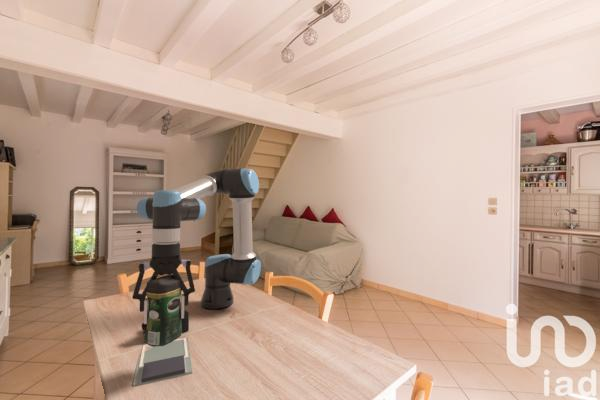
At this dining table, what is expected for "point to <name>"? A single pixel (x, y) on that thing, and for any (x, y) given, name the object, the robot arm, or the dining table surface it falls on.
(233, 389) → the dining table surface
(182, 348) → the board
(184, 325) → the film camera
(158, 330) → the coffee jar
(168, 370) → the pad
